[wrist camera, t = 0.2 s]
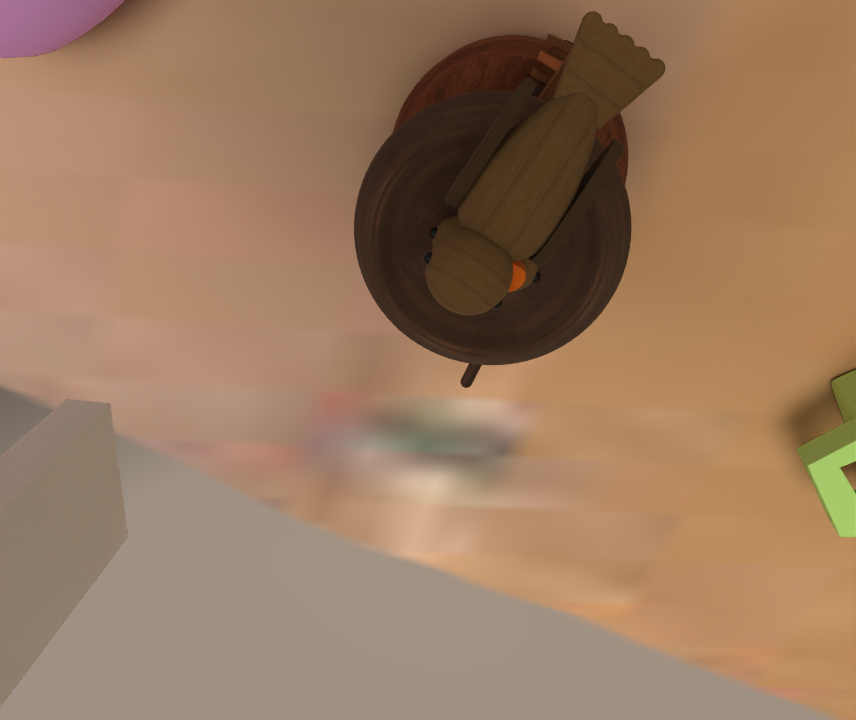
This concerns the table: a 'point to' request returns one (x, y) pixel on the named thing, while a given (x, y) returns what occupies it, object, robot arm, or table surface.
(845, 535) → the green square kettle
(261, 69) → the table surface
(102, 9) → the pink piggy bank
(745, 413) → the table surface
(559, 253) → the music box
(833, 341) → the table surface
